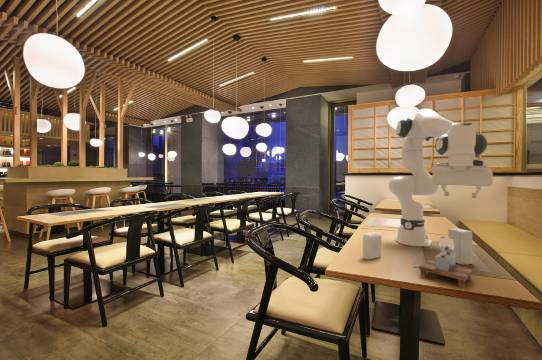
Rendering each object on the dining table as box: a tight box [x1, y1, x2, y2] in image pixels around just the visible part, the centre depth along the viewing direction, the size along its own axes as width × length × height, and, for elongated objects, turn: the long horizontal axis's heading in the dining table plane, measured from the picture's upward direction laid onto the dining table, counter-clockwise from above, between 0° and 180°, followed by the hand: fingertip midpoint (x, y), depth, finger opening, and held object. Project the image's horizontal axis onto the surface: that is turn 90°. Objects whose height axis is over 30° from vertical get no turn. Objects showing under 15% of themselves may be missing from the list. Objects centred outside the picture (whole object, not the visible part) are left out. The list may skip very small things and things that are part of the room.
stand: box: [418, 259, 474, 289], centre depth 104 cm, size 12×15×4 cm
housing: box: [434, 251, 457, 272], centre depth 104 cm, size 4×10×6 cm, turn 133°
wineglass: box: [438, 236, 455, 252], centre depth 119 cm, size 6×6×12 cm
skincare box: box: [447, 228, 474, 265], centre depth 123 cm, size 8×6×15 cm
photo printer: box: [362, 231, 382, 260], centre depth 128 cm, size 10×4×12 cm, turn 123°
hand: (460, 196), depth 108 cm, fingers open, 8 cm apart
